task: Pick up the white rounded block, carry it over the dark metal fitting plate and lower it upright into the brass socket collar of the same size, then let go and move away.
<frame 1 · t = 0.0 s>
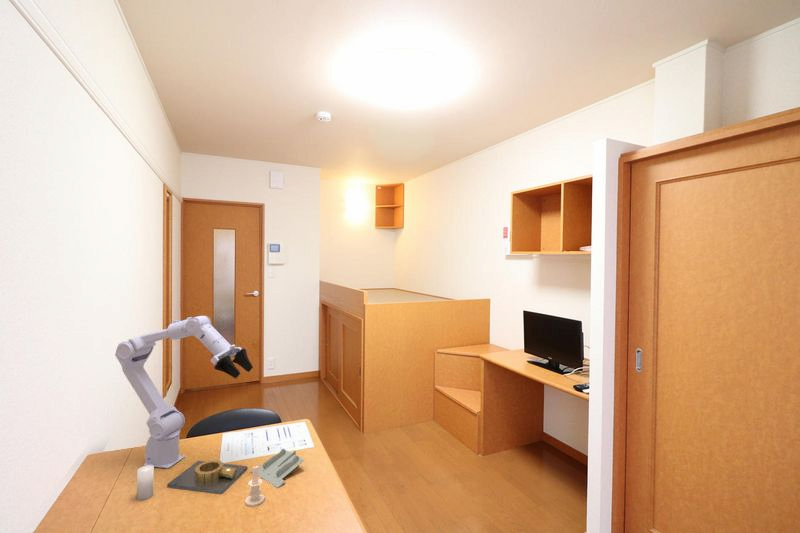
hand: (244, 372, 126), 32 cm above the table, tool tilted 50°, fingers open, 7 cm apart
metal bracket: (279, 473, 126), on the table
beige turned upright piece: (254, 501, 111), on the table
fitting plate: (209, 477, 122), on the table
white rounded block: (145, 496, 111), on the table
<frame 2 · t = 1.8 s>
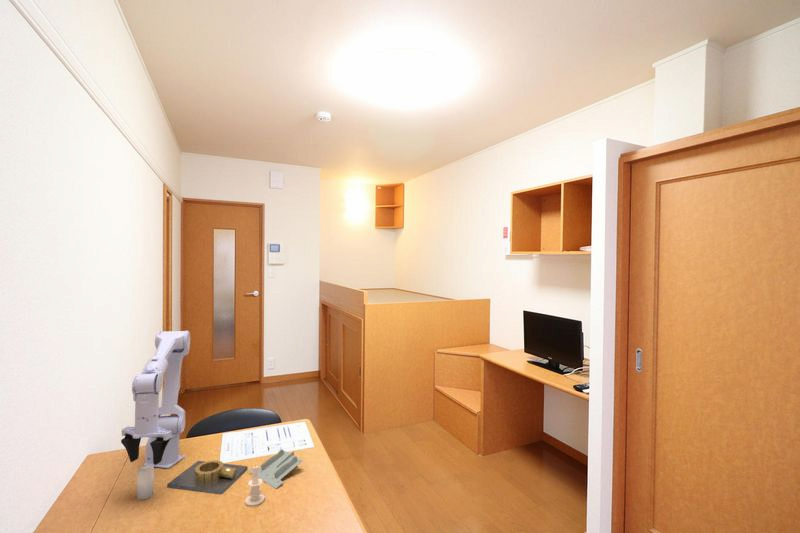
hand: (145, 461, 111), 10 cm above the table, tool pointing down, fingers open, 7 cm apart
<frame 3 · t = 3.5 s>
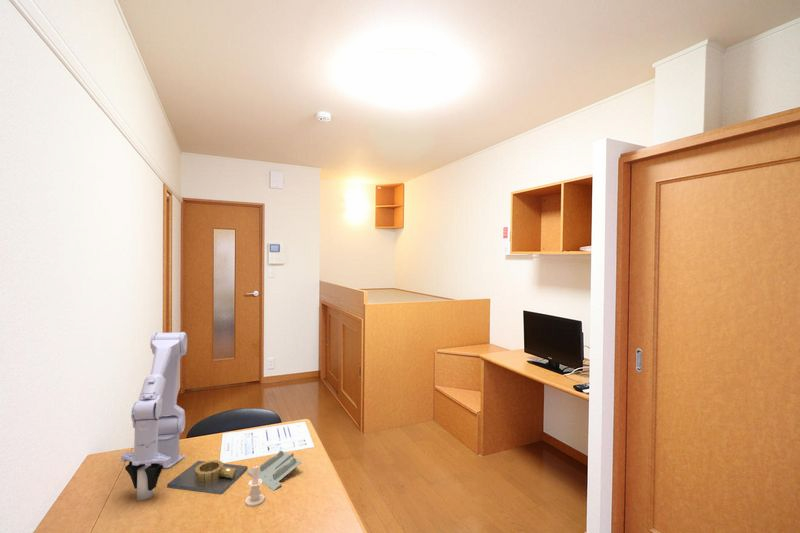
hand: (145, 487, 111), 2 cm above the table, tool pointing down, fingers closed on white rounded block, 4 cm apart
white rounded block: (145, 496, 111), on the table, touching gripper
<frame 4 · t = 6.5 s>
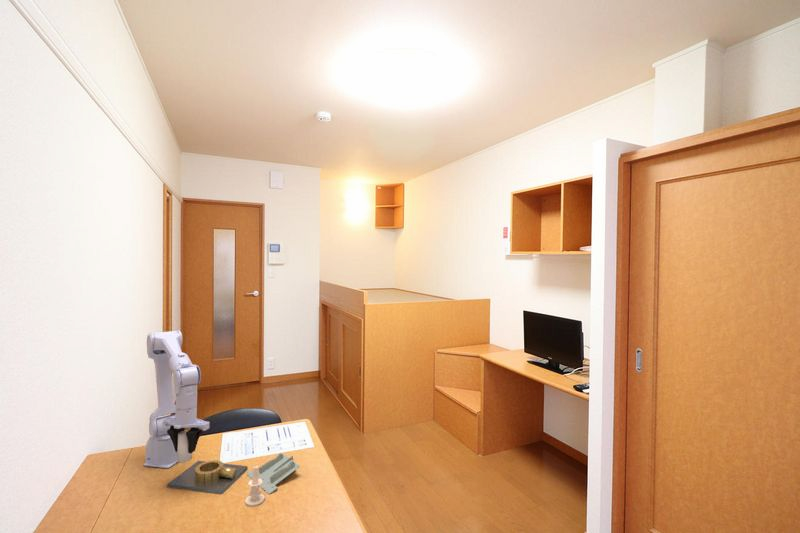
hand: (185, 451, 117), 10 cm above the table, tool pointing down, fingers closed on white rounded block, 4 cm apart
metal bracket: (275, 478, 123), on the table
white rounded block: (184, 459, 117), point 8 cm above the table, touching gripper
everything else where it was.
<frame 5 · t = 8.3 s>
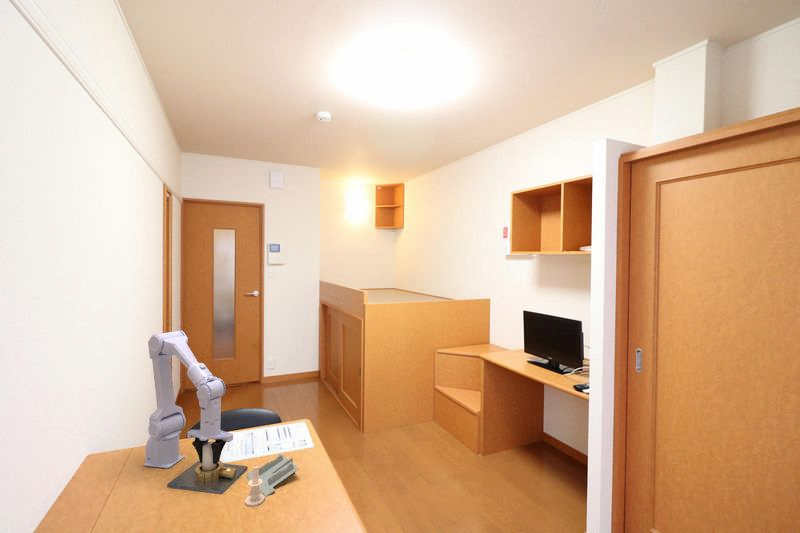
hand: (209, 461, 122), 5 cm above the table, tool pointing down, fingers closed on white rounded block, 4 cm apart
metal bracket: (274, 480, 122), on the table
white rounded block: (209, 469, 121), point 3 cm above the table, touching gripper
everything else where it was.
when the fingers open (5 cm above the table, at t = 9.6 s): white rounded block drops 1 cm, resting on fitting plate.
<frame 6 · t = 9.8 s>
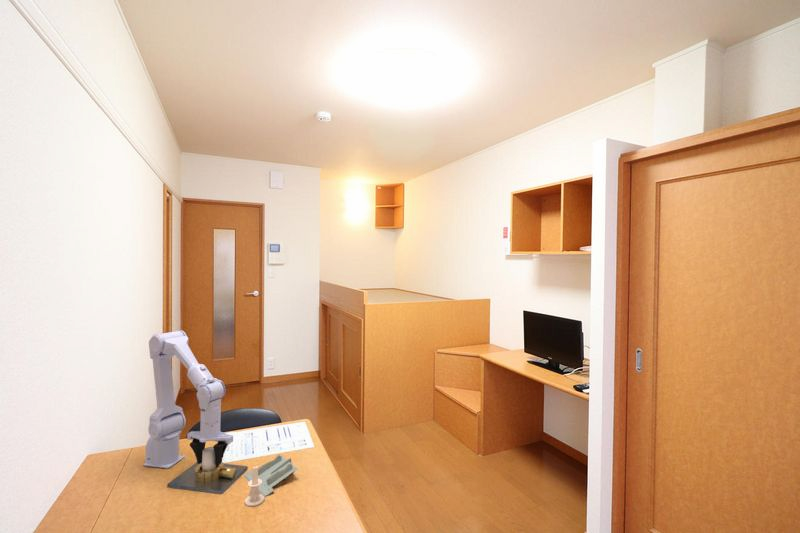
hand: (209, 463, 122), 5 cm above the table, tool pointing down, fingers open, 6 cm apart
white rounded block: (209, 474, 121), point 1 cm above the table, touching fitting plate
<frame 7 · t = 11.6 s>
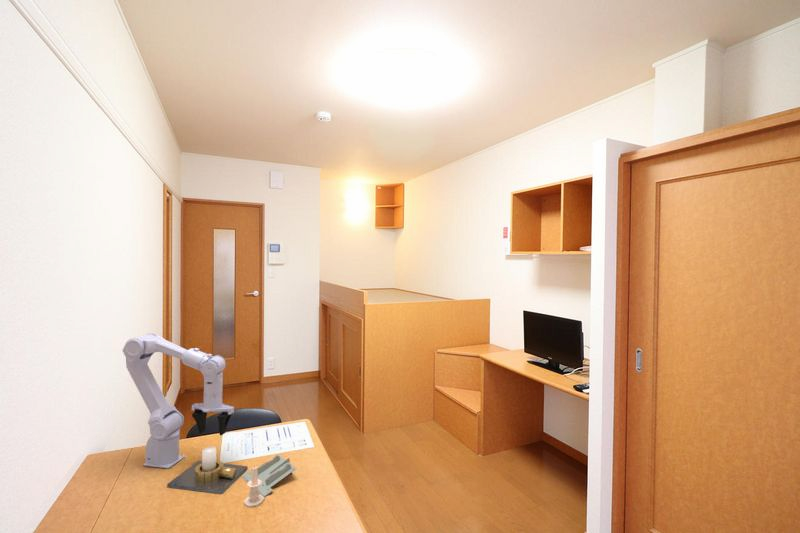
hand: (212, 432, 130), 10 cm above the table, tool pointing down, fingers open, 7 cm apart
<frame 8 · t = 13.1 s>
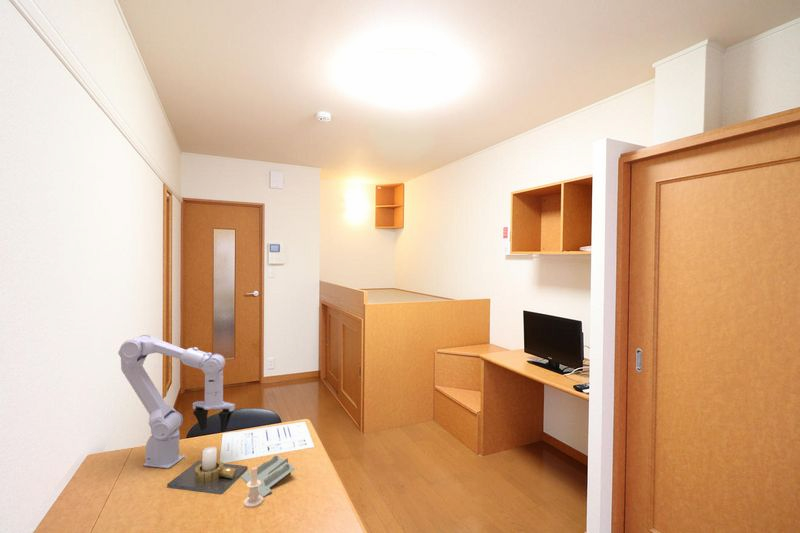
hand: (213, 430, 132), 10 cm above the table, tool pointing down, fingers open, 7 cm apart
at the end: white rounded block 0.1 cm off-centre on the fitting plate, point 1.0 cm above the fitting plate's base; white rounded block tilted 1°; the gripper is holding nothing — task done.
